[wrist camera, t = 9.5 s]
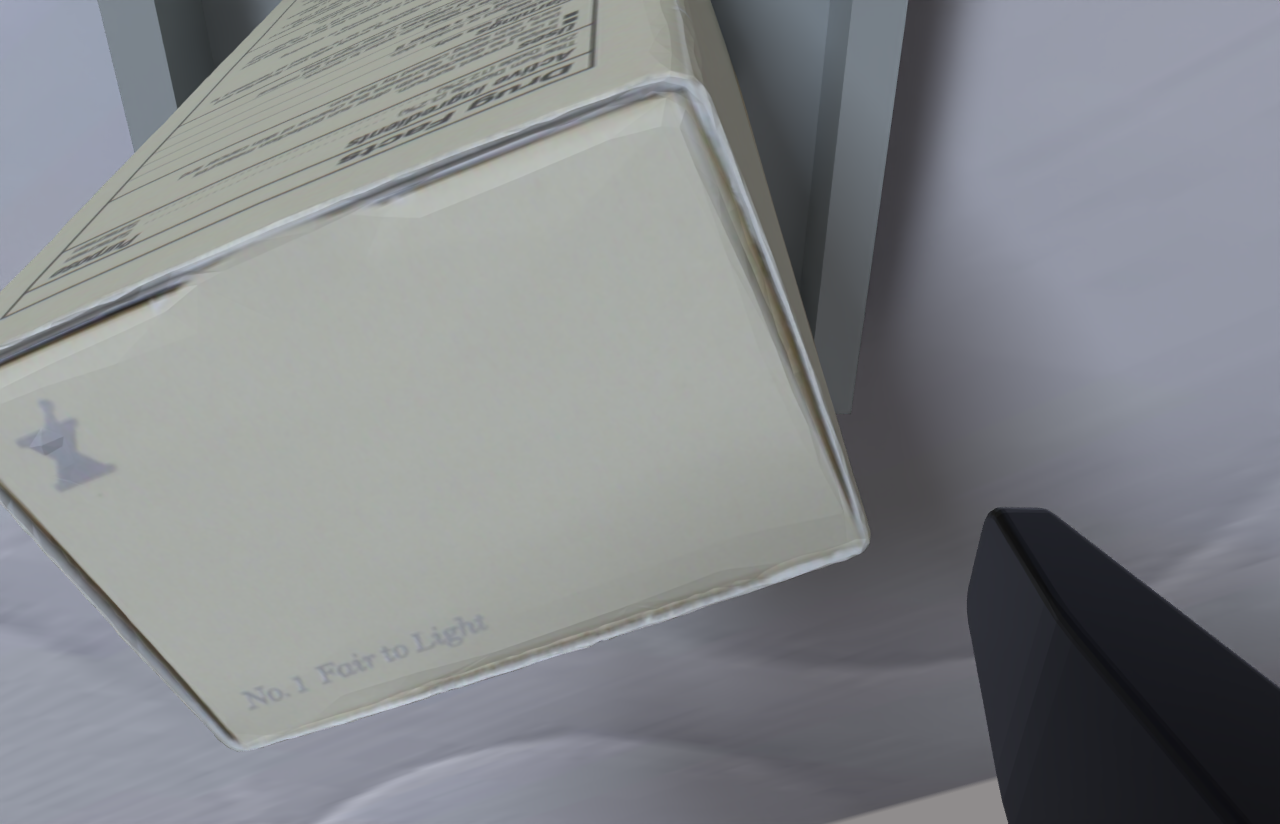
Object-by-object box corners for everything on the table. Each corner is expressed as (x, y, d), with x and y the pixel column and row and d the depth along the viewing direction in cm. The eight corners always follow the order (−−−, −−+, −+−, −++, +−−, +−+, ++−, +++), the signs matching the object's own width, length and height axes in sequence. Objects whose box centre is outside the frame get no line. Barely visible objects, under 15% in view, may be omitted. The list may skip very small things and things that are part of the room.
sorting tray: (928, -461, 16) (973, -472, 14) (830, 342, 23) (850, 414, 21) (65, -475, 16) (-21, -490, 14) (236, 338, 23) (196, 410, 21)
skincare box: (418, 214, 21) (217, 780, 10) (282, -28, 18) (-144, 400, 8) (755, 80, 19) (895, 578, 9) (655, -199, 17) (695, 58, 7)
